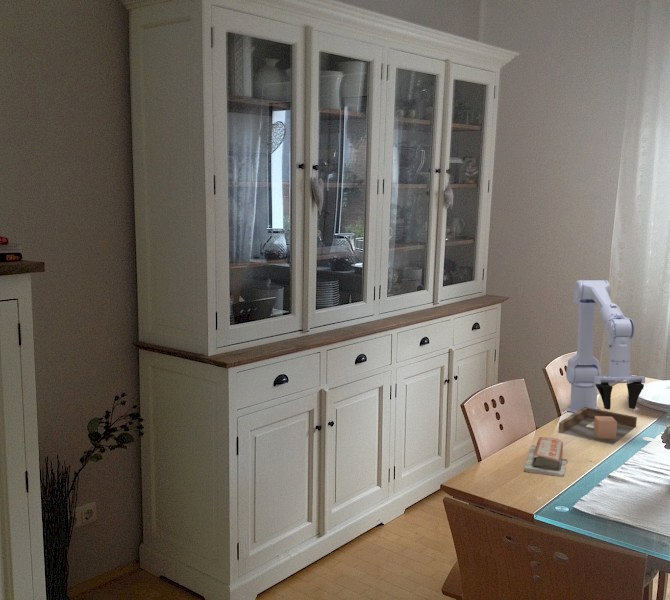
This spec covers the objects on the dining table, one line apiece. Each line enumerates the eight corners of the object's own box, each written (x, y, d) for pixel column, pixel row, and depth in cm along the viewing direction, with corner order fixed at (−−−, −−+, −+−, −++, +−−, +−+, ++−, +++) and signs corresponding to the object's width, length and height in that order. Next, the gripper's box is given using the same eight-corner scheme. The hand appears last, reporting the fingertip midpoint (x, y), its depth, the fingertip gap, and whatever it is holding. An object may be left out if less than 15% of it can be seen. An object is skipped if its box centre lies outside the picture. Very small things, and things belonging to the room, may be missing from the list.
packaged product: (531, 433, 205) (568, 438, 202) (531, 450, 206) (568, 454, 203) (524, 455, 189) (564, 460, 185) (523, 473, 190) (563, 478, 186)
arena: (584, 419, 232) (584, 406, 231) (636, 429, 222) (636, 417, 221) (558, 435, 217) (559, 422, 216) (612, 447, 206) (613, 434, 206)
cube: (593, 432, 216) (594, 416, 216) (611, 432, 216) (612, 416, 215) (598, 438, 211) (599, 421, 211) (616, 438, 211) (617, 422, 210)
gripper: (603, 362, 203) (603, 411, 203) (651, 361, 205) (651, 410, 205) (590, 360, 210) (590, 407, 210) (637, 359, 212) (637, 406, 212)
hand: (619, 408), depth 208 cm, fingers open, 7 cm apart
